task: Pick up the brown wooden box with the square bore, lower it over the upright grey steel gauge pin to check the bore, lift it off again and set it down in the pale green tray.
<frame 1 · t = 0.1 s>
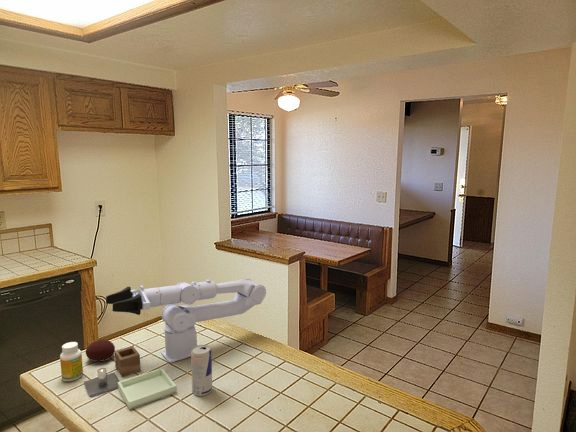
hand: (109, 303, 111), 22 cm above the table, tool horizontal, fingers open, 7 cm apart
tray: (147, 390, 106), on the table
energy drink: (202, 391, 106), on the table
brown wooden box: (127, 368, 117), on the table
gauge stand: (102, 385, 108), on the table
supplement bottle: (72, 377, 113), on the table
potato: (101, 359, 123), on the table
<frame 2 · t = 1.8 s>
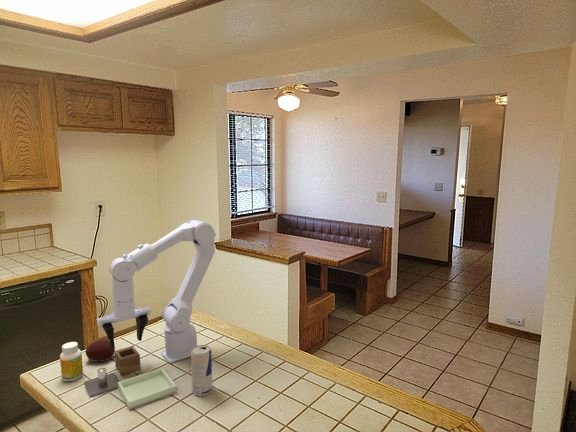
hand: (126, 343, 116), 8 cm above the table, tool pointing down, fingers open, 7 cm apart
nothing on the table moved.
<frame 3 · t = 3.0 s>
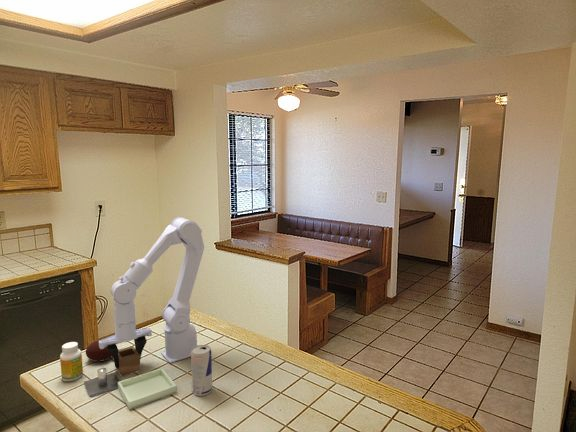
hand: (127, 364, 117), 1 cm above the table, tool pointing down, fingers closed on brown wooden box, 5 cm apart
brown wooden box: (127, 368, 117), on the table, touching gripper
everything else where it was.
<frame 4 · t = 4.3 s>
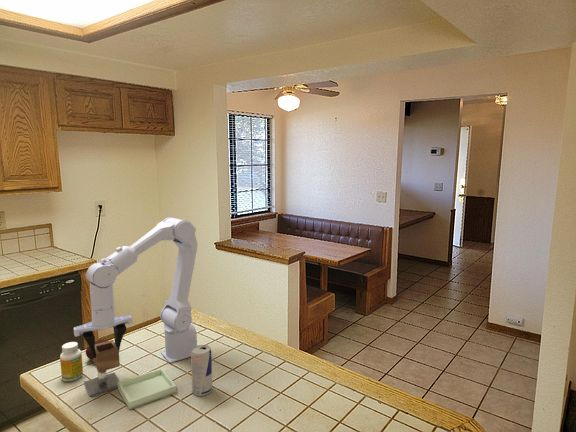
hand: (105, 353, 109), 9 cm above the table, tool pointing down, fingers closed on brown wooden box, 5 cm apart
brown wooden box: (106, 363, 109), point 5 cm above the table, touching gripper
everything else where it was.
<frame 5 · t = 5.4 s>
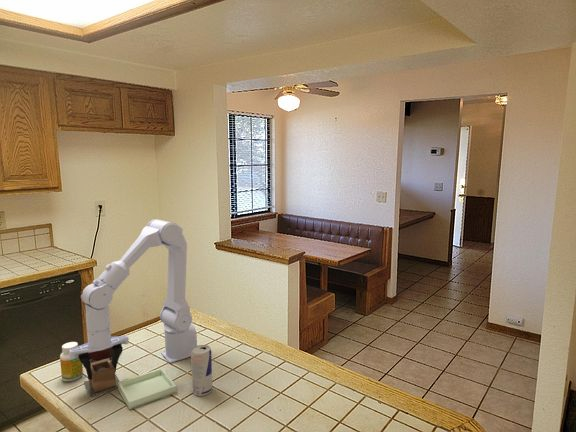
hand: (101, 374, 108), 3 cm above the table, tool pointing down, fingers closed on brown wooden box, 5 cm apart
brown wooden box: (102, 383, 108), point 1 cm above the table, touching gauge stand, gripper
everything else where it was.
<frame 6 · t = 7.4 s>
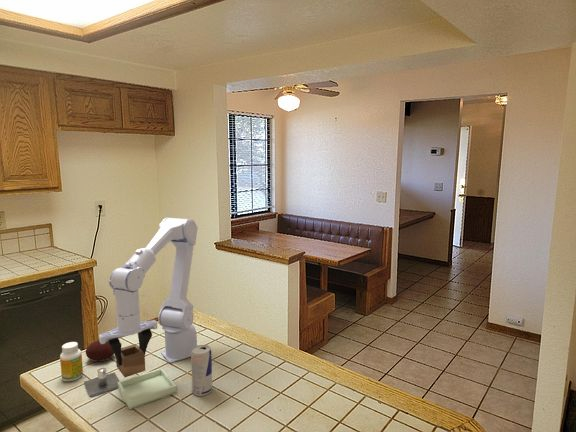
hand: (131, 360, 105), 8 cm above the table, tool pointing down, fingers closed on brown wooden box, 5 cm apart
brown wooden box: (130, 368, 106), point 6 cm above the table, touching gripper
everything else where it was.
when the fingers open (3 cm above the table, at t = 9.2 s): brown wooden box stays where it is, resting on tray.
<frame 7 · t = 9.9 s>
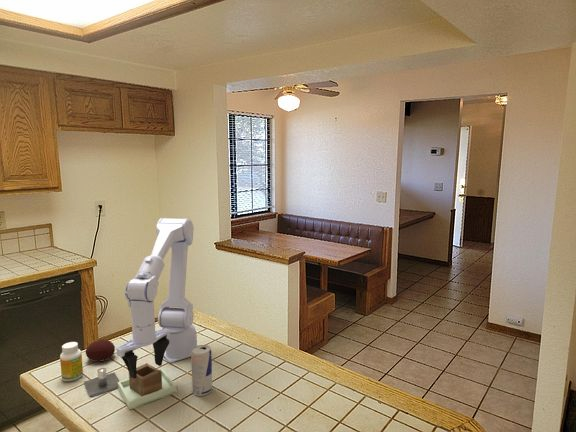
hand: (146, 370, 105), 6 cm above the table, tool pointing down, fingers open, 7 cm apart
brown wooden box: (146, 388, 106), resting on tray
everything else where it was.
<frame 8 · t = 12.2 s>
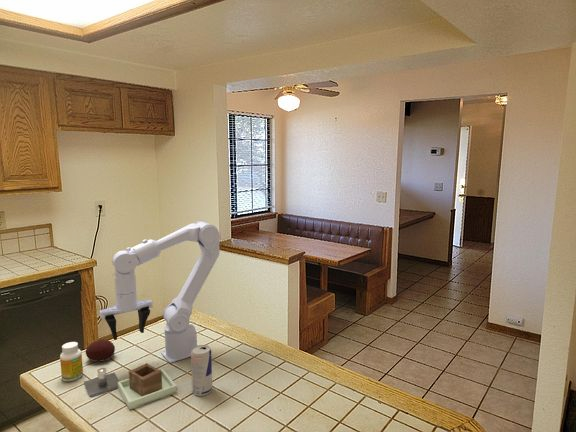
hand: (128, 335, 117), 10 cm above the table, tool pointing down, fingers open, 7 cm apart
nothing on the table moved.
at the end: brown wooden box inside the target area on the tray (0.4 cm from its centre), point 0.5 cm above the tray's base; brown wooden box tilted 0°; the gripper is holding nothing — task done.
